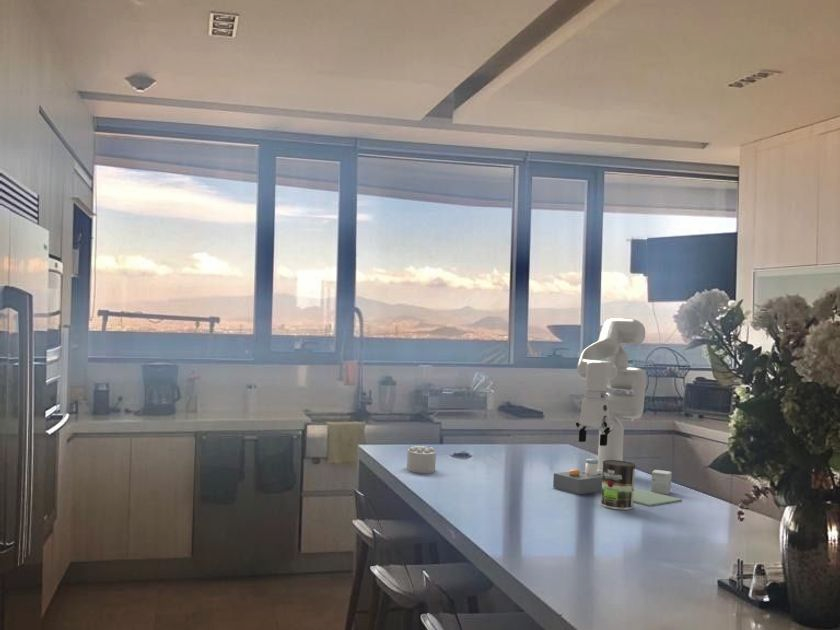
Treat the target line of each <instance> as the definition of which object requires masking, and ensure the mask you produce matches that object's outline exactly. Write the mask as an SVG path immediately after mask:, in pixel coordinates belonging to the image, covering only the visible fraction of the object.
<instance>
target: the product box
mask: <svg viewBox="0 0 840 630" xmlns="http://www.w3.org/2000/svg"><path fill="white" fill-rule="evenodd" d="M672 472H673V471H669V470H661V469H654V470H653V471H652V472H651V483H650V484H651V488H650V492H654V493H658V494H662V495H669V494H670V493H671V489H672Z"/></svg>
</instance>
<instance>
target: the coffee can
mask: <svg viewBox="0 0 840 630" xmlns="http://www.w3.org/2000/svg"><path fill="white" fill-rule="evenodd" d="M626 461H627V460H626ZM626 461H625V460H623V461H619V460H605V461H603V477H602V491H601V496H600V506H601V507H604V508H606V509H611V510H620V511H627V510H628V511H629V509H630V510H632V509H634V507H633V505H634V502H633V493H634V489H635V474H636V472H635V471H636V464H635V463H634V462H631V461H630V462H629V461H628V462H626Z"/></svg>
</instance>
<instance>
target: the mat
mask: <svg viewBox="0 0 840 630" xmlns="http://www.w3.org/2000/svg"><path fill="white" fill-rule="evenodd" d="M678 502H683V499H682V498H678V497H674V496H670V495H667V494H661V493H654V492H651V490H650V491H649V490H645V489H641V488H636V489H635V488H634V493H633V504H634V503H635V504H638V505H642V506H645V507H653V506H659V505H666V504H672V503H678Z"/></svg>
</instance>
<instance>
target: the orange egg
mask: <svg viewBox="0 0 840 630" xmlns="http://www.w3.org/2000/svg"><path fill="white" fill-rule="evenodd" d="M580 471H581V470H580V469H575V468H571V469H569V470H568V472H569V474H570V475H571V476H573V477H577V476H578V475H580Z"/></svg>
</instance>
